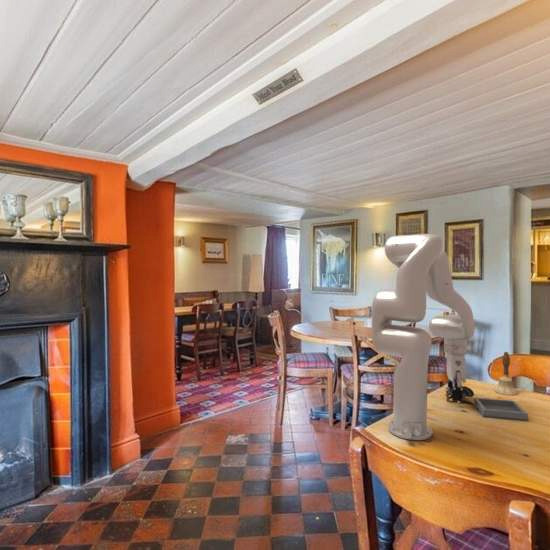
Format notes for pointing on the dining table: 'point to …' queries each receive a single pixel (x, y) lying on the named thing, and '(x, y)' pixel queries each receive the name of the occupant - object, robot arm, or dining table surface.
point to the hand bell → (506, 379)
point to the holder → (500, 409)
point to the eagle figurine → (465, 393)
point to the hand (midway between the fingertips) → (454, 396)
